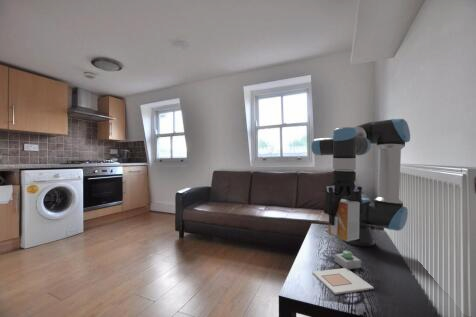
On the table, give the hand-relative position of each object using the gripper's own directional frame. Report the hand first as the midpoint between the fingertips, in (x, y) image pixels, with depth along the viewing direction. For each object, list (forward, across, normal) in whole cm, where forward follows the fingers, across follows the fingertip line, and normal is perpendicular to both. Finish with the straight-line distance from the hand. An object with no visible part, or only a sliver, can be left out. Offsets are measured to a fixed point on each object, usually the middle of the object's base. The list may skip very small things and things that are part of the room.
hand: (343, 233), depth 76 cm
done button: (+14, -10, -10) cm, 20 cm away
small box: (+1, 0, 0) cm, 1 cm away
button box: (+17, -10, -10) cm, 22 cm away
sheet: (+17, +1, 0) cm, 17 cm away
